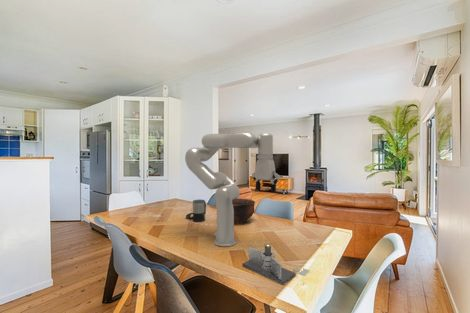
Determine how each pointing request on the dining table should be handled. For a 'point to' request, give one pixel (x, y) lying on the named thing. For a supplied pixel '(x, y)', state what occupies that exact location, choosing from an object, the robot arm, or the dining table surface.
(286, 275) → the hinge stand
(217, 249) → the dining table surface
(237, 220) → the bowl
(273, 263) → the hinge leaf
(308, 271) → the mounting bracket
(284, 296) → the dining table surface
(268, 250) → the hinge pin
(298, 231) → the dining table surface
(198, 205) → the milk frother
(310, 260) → the dining table surface
